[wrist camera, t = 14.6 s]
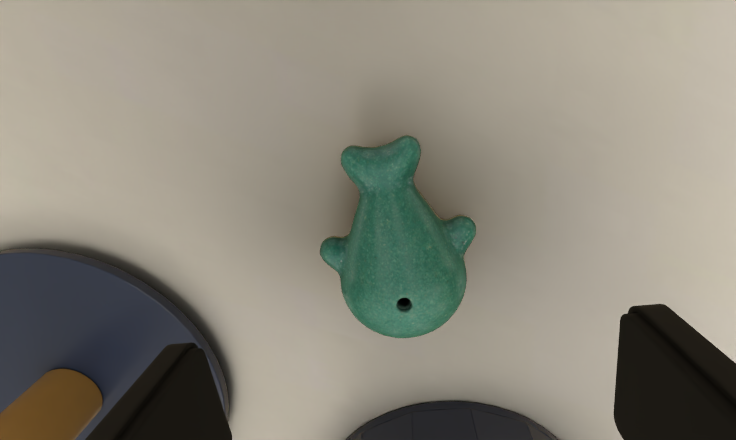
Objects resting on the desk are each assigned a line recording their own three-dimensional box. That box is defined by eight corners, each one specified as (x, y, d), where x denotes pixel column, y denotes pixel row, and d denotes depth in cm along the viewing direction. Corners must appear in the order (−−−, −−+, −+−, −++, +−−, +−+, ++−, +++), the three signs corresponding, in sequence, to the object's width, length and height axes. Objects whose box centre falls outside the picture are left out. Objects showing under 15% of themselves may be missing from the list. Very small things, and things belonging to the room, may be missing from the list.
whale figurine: (342, 310, 18) (329, 372, 14) (305, 146, 15) (278, 170, 12) (476, 295, 17) (498, 356, 13) (461, 121, 14) (483, 139, 11)
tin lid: (-121, 259, 18) (-329, 338, 13) (182, 224, 17) (85, 295, 11) (21, 485, 23) (-87, 607, 18) (264, 473, 22) (223, 603, 16)
